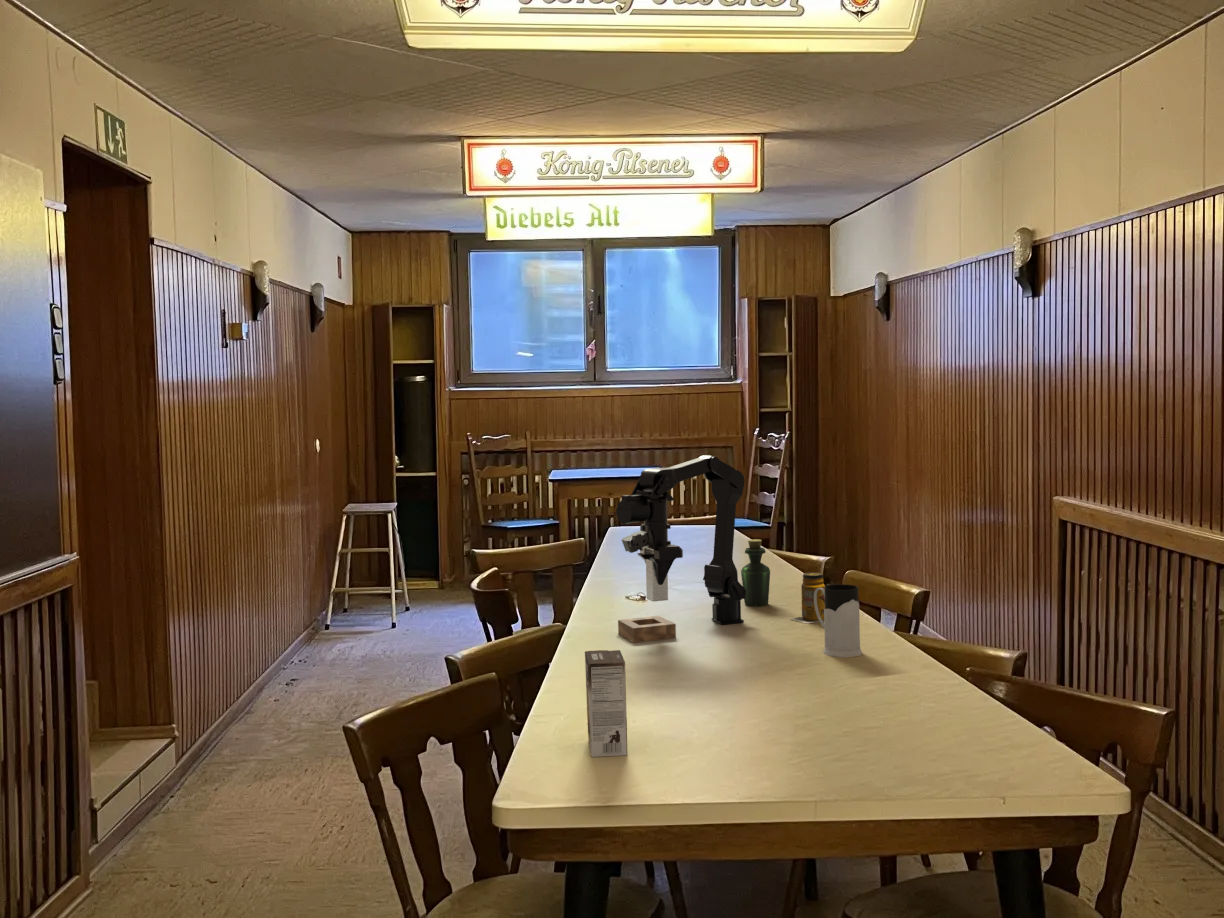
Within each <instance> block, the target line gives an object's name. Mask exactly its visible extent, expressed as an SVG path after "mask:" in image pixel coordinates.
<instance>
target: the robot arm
mask: <svg viewBox="0 0 1224 918" xmlns="http://www.w3.org/2000/svg"><path fill="white" fill-rule="evenodd" d="M701 475H703V476H704V479H706V480H707V481H708V482H709V483H710V484H711V494H712V496H713V498H714V500H715V502H716V509H715V527H714V538H713V539H714V544H713V556H712V560H711V561H710V562H709V564H704V568H703V570H704V571H703V572H704V575H703V579H702V581H704V586H705V588H706V590H707V593H708V595H709V598H713V603H712V605H711V607H712V618H711V621H713V622H716V623H718V624H720V625H727V624H737V623H744V622H745V620H744V619H742V609H741V608H742V606H741V605H742V604H741V601H742V600H744V599H745V595H746V590H745V589H744V587H743V585H742V583H740V581H739V578H738V569H737V567H736V565H735V563H734V560H733V557H734V556H733V555H734V554H733V553H734V540H735V538H734V537H735V526H736V525H735V523H736V510H737V508H736V507H737V503H738V502H739V500H740V499H741V497H742V496H743V492H744V488H745V475H743V472H741V471H740V470H738V469H736V468H734V467H733V466H731V465H729V464H727V463H725V462H724V461H723V460H721V459H720V458H718V457H717V456H715V455H706V454H704V455H700V456H699V457H698V458H694V459H691V460H688V461H685V462H684V461H683V462H681V463H678V464H676V465H675V464H674V465H672V466H669V467H654V468H645V469H643V470H641V472H640V476H639V478H638V480H637V482H636V484H635V485H634V488H633V490H632V491H631V494H630V495H629V494H623V495H621V500H620V501H619V503H618V504H617V507H616V509H615V511H616V517H617V519H618V521H619V522H620V523H621V524H624V525H625V524H627V525H628V524H634V523H636V524H637V523H641V524H640V526H639V527H640V528H639V529H640V530H639V531H637V532H633V533H631V534H629V535H626V536H625V537H622V538H621V542H622V544H623V545H622V546H623V548H624V550H625V552H628V553H629V554H630V553H631V554H632V553H635V552H637V556H638V557H640V558H642V560H643V561H644V563H645V564H646V559H651V560H652V561H653V562H654V563H655V567H656V574H657V580H658V584H659V585H662V584H663V583H664V581H665V578H666V576H667V574H668V573H669V572H670V569H671V567H672V565H673V563H674V561H675V560H676V559H683V557H684V552H683V551H684V549H683V548H682V547H680V546H679V545H675V544H672V542H671V540H668V539H669V536H668V534H669V533H668V532H669V531H668V530H670V529H671V528H672V527H671V524H669V523H668V502H672V501H675V499H674V497H673V496H672V495H671V494H670V493H669V491H670V490H672V489H674V488H675V487H676V485H677V484H679V483H681V482H684V481H687V480H689V479H693V478H695V477H697V476H699V477H700V476H701ZM638 551H640V552H638Z"/></svg>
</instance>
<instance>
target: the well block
mask: <svg viewBox="0 0 1224 918" xmlns="http://www.w3.org/2000/svg"><path fill="white" fill-rule="evenodd" d="M676 627H677V625H676V623H675V622H673V621H671V620H669V619H666V618H664V617H662V616H660V615H653V616H645V617H642V616H641V617H634V618H623V619H618V620H617V629H618V635H620V636H621V637H623V638H625V639H627V640H628V641H630V642H632V643H644V642H650V641H660V640H668V639H671V640H672V639H677V630H676Z"/></svg>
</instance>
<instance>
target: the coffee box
mask: <svg viewBox="0 0 1224 918" xmlns="http://www.w3.org/2000/svg"><path fill="white" fill-rule="evenodd" d="M621 651H622V650H620V649H616V650H615V649H613V650H608V649H607V650H605V649H603V650H600V649H599V650H597V649H596V650H585V651H584V663H585V666H584V667H585V686H586V688H585V690H586V692H585V693H586V717H587V719H586V720H587V739H588V744H589V750H590V755H591V757H592V758H600V757H619V756H621V757H622V756H627V755H628V717H627V712H628V711H627V683H626V677H627V676H626V661H625V659H624V656H623V654H622V652H621Z"/></svg>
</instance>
